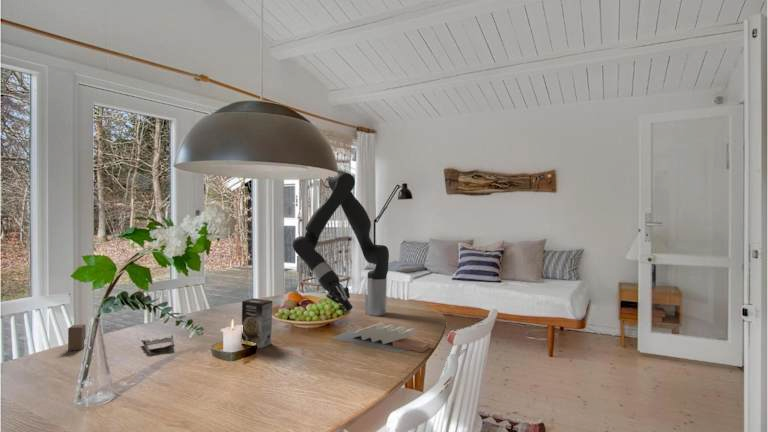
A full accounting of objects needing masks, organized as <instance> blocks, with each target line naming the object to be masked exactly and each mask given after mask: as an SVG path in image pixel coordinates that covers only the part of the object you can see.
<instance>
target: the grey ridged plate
mask: <svg viewBox="0 0 768 432" xmlns="http://www.w3.org/2000/svg"><path fill="white" fill-rule="evenodd" d="M358 330H359V329H353V328H351V329H349V330H347V331H345V332H343V333H340V334H338V335H335V336H333V337H332V339H333V340H338V341H344V342H348V343H354V344H358V345H363V346H368V347H372V348H377V349H380V350H381V349H382V350H387V351H391V352H395V353H396V352H397V353H403V352H405V351H406V350H407V349H403V348H398V347H393V342H389V343H386V344H383V343H382V340H378V341H375V342H372V340H371V338H368V339H365V340H362V338H361V336H358V337H355V338H352V336H351V333H354V332H356V331H358Z"/></svg>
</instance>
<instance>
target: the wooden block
mask: <svg viewBox="0 0 768 432" xmlns="http://www.w3.org/2000/svg"><path fill="white" fill-rule="evenodd" d="M86 327H87V326H86V324H84V323H82V324H72V325H71V326H70V327H68V330H67V335H68V338H67V350H68V351H69V352H70V351H72V350H73V351H82V350H83V349H84V348H85V347H84V340H85V338H86V330H87V329H86Z"/></svg>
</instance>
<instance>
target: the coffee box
mask: <svg viewBox="0 0 768 432" xmlns="http://www.w3.org/2000/svg"><path fill="white" fill-rule="evenodd" d="M272 323H273V300H269V299H259V298H254V297H253V298H250V299H245V300H242V301H241V326H242V325H243V333H242V332H241V340H242V339H243V340H244V341H250V342H253V343H256V344H257V349H264V348H265V347H267V346H268V345H269V346H270V345H271V344H272V330H273V329H272V325H273V324H272Z"/></svg>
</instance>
